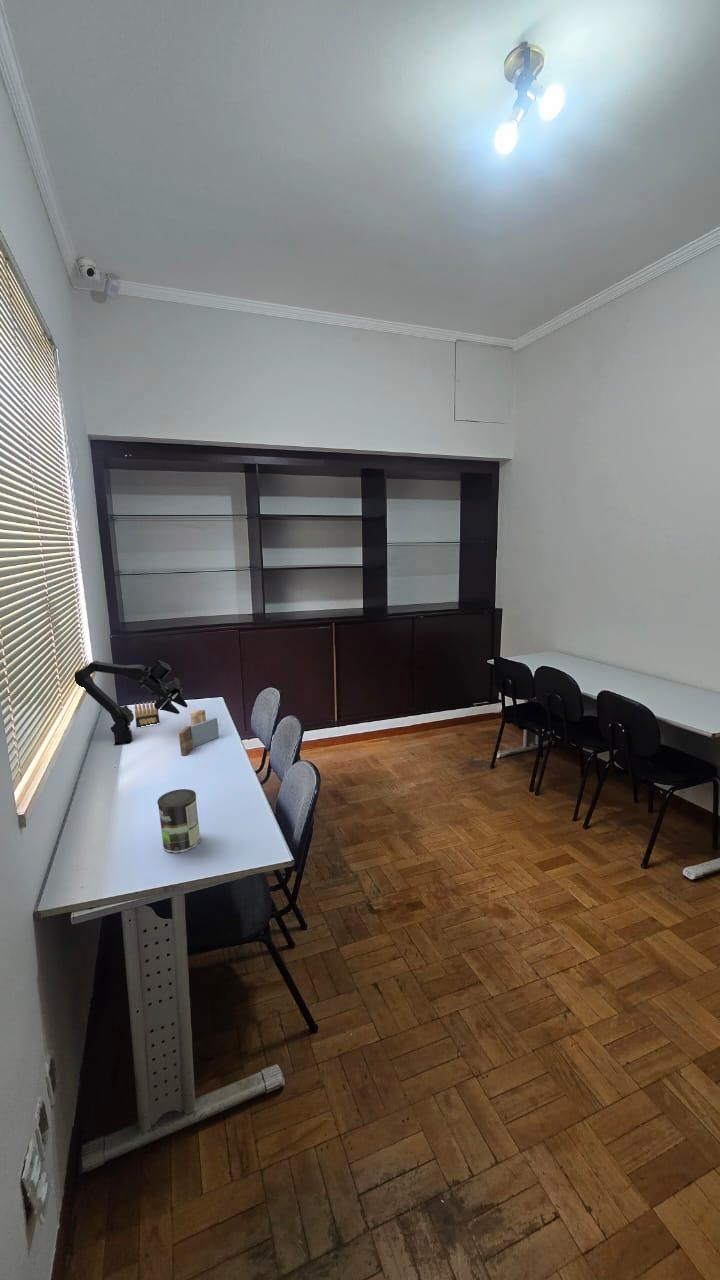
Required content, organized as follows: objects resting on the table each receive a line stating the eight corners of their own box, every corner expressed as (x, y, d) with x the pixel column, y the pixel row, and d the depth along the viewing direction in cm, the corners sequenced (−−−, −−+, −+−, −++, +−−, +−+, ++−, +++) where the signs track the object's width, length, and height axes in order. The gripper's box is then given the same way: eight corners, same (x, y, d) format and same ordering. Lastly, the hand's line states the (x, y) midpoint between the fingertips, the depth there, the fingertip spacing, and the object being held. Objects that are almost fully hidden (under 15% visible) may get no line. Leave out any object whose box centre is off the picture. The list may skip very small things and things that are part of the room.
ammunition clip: (136, 728, 248) (133, 704, 245) (136, 726, 249) (133, 703, 247) (160, 724, 252) (157, 700, 249) (159, 723, 253) (157, 699, 251)
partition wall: (181, 756, 210) (178, 732, 208) (188, 748, 218) (186, 726, 216) (186, 755, 210) (183, 732, 208) (193, 748, 218) (190, 725, 216)
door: (192, 746, 220) (190, 726, 218) (217, 736, 230) (215, 717, 228) (193, 746, 219) (191, 726, 217) (219, 737, 229) (217, 717, 227)
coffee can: (172, 858, 140) (167, 810, 137) (157, 843, 147) (151, 798, 144) (207, 842, 147) (202, 796, 144) (190, 829, 154) (185, 785, 151)
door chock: (193, 740, 228) (190, 713, 225) (196, 736, 232) (193, 710, 229) (204, 739, 227) (201, 712, 225) (207, 736, 231) (204, 710, 229)
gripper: (158, 679, 216) (186, 703, 217) (175, 668, 234) (201, 691, 235) (142, 697, 217) (170, 721, 219) (160, 685, 236) (186, 708, 237)
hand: (183, 710), depth 227 cm, fingers open, 9 cm apart
